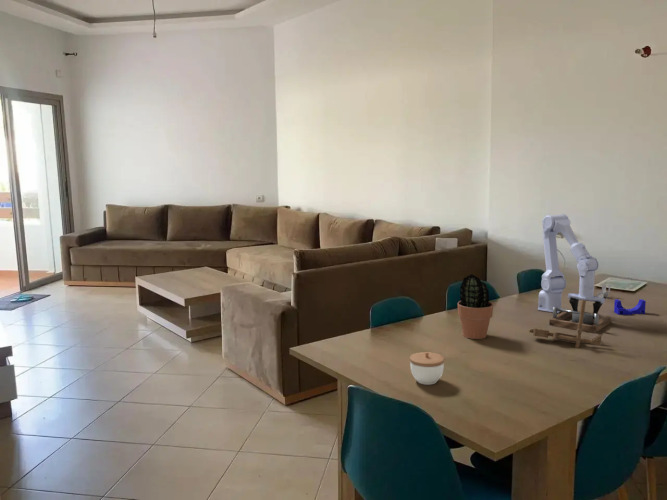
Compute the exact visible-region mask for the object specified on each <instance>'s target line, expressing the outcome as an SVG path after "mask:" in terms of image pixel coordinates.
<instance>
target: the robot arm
mask: <svg viewBox="0 0 667 500" xmlns="http://www.w3.org/2000/svg"><path fill="white" fill-rule="evenodd" d="M541 223H542V241H543V248H544V249H543V253H544V259H545V260H544V261H545V270H546V271H545V272H544V273H543V274H542V275H541V283H540V286H541V290H540V291H539V293H538V304H537V305H538V306H537V307H538V308H537V310H538V311H543V312H549V313H553V307H557V308H558V309H564V308H562V294H563V293H562V292H564V290H565V289H566V286H567V280H566V279H565V275H564V273H563V272H562V271H561V270H560V265H559V256H558V247H557V244H558V243H557V235H558V234H559V233H561V235H562V236H563V238H565V240H566V242H567V243H568V244H569V245H570V248H569V249H570V252H571V254H572V255H573V257H574V259H575V260H576V261H577V264H576V267H577V270H578V275H579V283H578V293H572V292H571V293H568V294H567V299H569V300H568V302H569V303H570V305H571V309H572V311H577V312H579V311H578V307H579V301H582V300H586V302H593V303H592V309H593V313H592V314H595V313H597V314H599V311H600V309H601V307H602V306H603V304H604V303H605V302H606V297H604V298H601V297H597V295H594V292H595V290H594V289H595V276H596V275H595V273H596V271H597V270H598V269H599V261H598V259H597V258H595V257H594V256H592V255H591V254H590V253H589V252H588V249H587V248H586V245H585V244H583V243H582V242H579V241H578V239H577V237H576V234H575V233H574V231H573V229H572V227H571V220H570V219H569V216H568V215H567V214H565V213H564V214H563V213H562V214H552V215H551V214H547V215H545V216H544V217H543V219H542V220H541ZM560 313H562V311H557V314H560ZM593 320H594V317H593Z"/></svg>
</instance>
